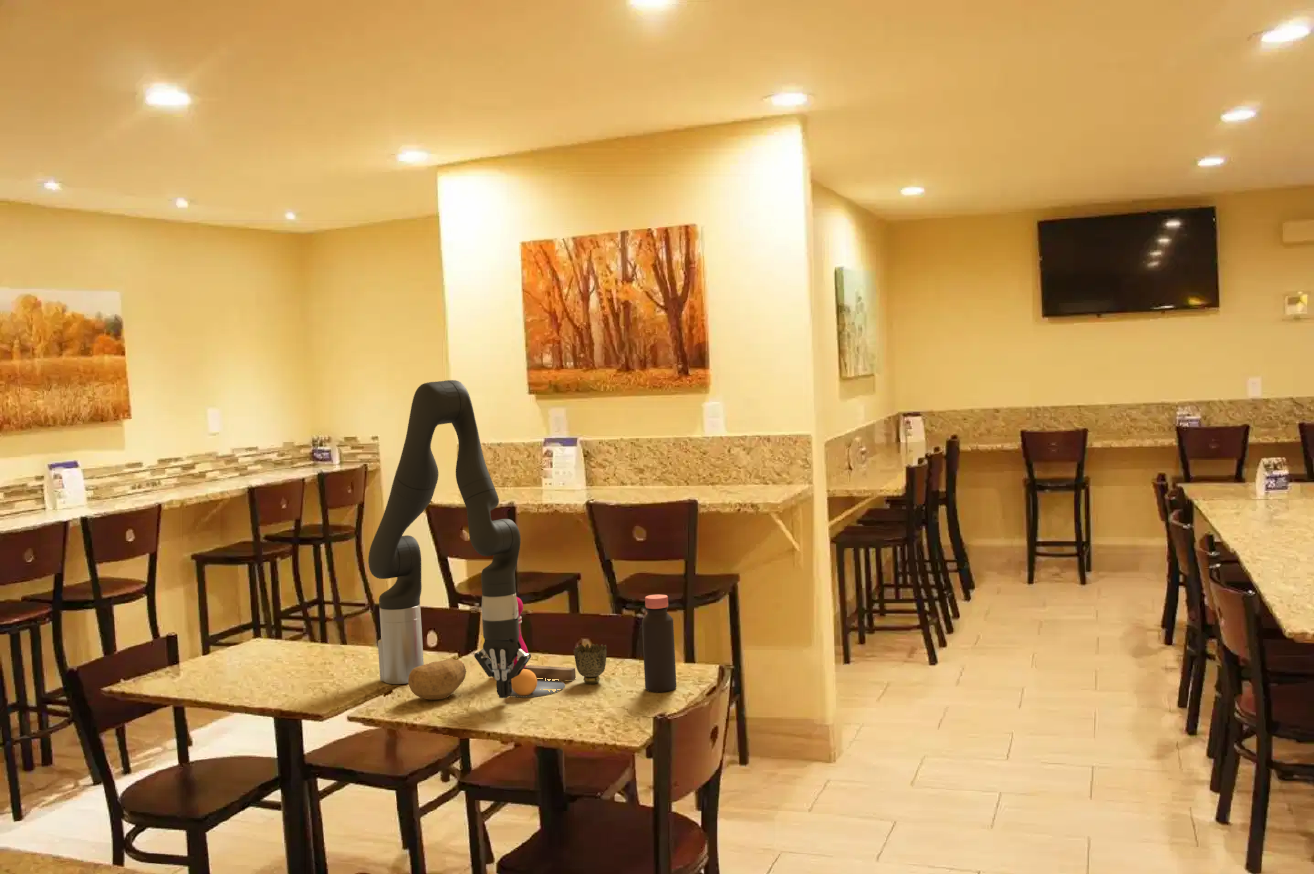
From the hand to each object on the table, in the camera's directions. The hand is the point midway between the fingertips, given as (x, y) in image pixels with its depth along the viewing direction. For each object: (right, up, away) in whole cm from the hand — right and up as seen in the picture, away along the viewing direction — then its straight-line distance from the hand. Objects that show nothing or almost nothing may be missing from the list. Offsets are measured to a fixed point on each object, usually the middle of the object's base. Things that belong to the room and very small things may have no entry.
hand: (504, 696), depth 227 cm
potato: (-15, -2, +8) cm, 17 cm away
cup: (+17, 0, +13) cm, 22 cm away
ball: (+3, +2, +6) cm, 7 cm away
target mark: (+5, -1, +11) cm, 12 cm away
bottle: (+33, 0, +6) cm, 33 cm away
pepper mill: (-1, -1, +23) cm, 23 cm away
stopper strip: (+8, 0, +19) cm, 20 cm away
